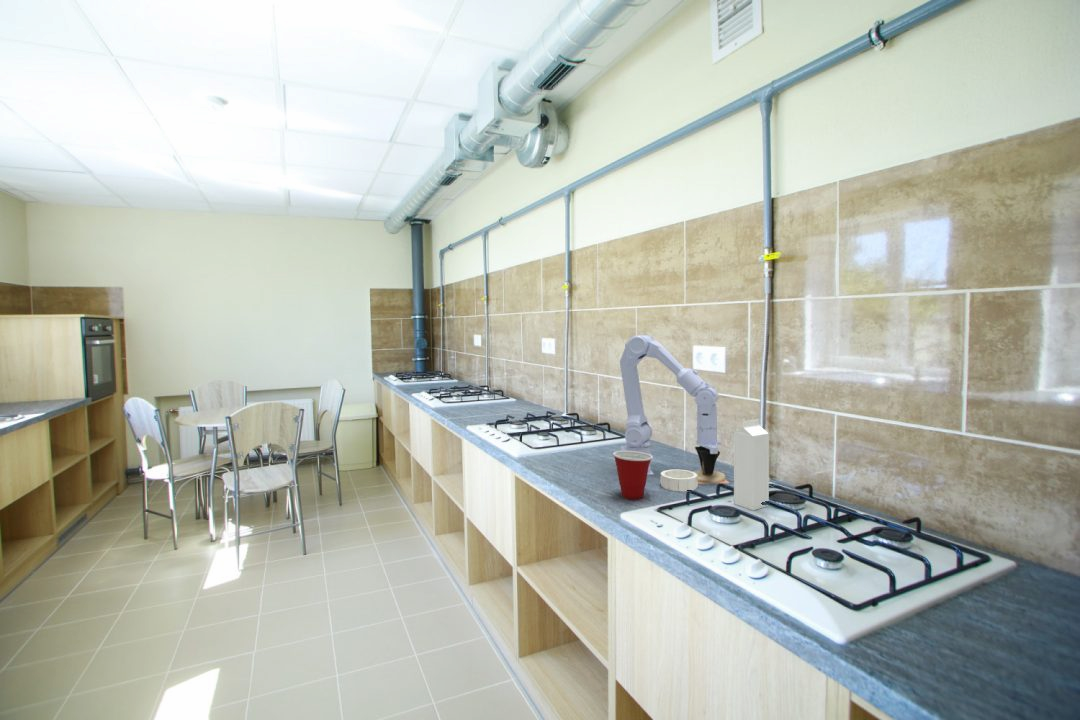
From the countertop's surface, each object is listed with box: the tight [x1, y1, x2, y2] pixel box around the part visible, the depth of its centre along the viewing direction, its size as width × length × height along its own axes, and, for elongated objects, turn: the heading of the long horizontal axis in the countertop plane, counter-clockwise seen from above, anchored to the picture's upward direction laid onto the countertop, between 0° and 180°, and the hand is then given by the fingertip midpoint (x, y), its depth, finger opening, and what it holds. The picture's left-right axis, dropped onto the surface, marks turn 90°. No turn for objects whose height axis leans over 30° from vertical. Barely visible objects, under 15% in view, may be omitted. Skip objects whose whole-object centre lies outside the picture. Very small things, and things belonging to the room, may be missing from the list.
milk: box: [733, 419, 770, 511], centre depth 131 cm, size 6×6×22 cm
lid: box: [692, 461, 726, 484], centre depth 153 cm, size 10×10×5 cm
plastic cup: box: [612, 450, 654, 501], centre depth 140 cm, size 11×11×12 cm
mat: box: [698, 478, 730, 485], centre depth 153 cm, size 10×10×1 cm
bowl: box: [660, 468, 699, 492], centre depth 147 cm, size 10×10×4 cm
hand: (707, 472), depth 153 cm, fingers open, 3 cm apart
